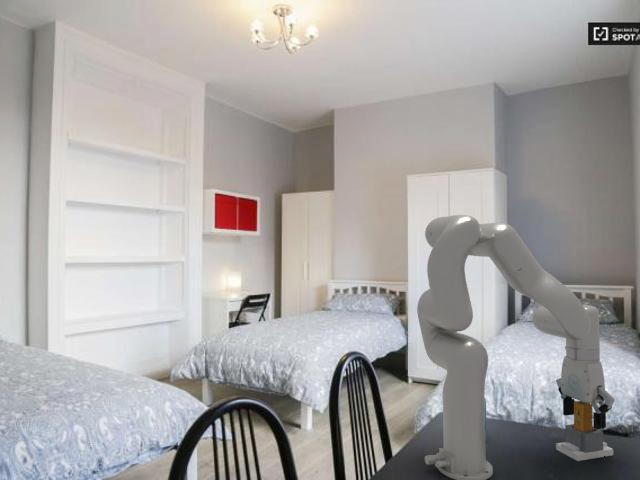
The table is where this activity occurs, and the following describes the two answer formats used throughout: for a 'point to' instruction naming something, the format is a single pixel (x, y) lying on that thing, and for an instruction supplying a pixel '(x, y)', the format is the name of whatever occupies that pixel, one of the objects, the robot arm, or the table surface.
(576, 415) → the supplement box
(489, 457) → the table surface
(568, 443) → the grey slotted holder
